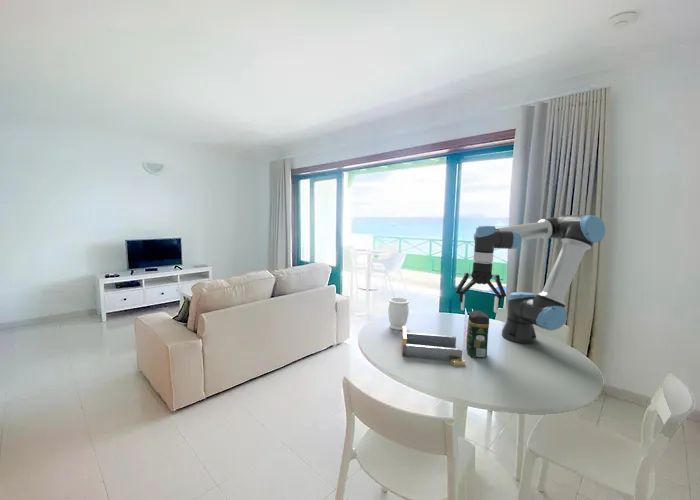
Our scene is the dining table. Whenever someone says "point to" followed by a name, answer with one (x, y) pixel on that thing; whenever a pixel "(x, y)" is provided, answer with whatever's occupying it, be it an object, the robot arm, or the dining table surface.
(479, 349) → the coffee jar
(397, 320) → the jar
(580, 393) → the dining table surface
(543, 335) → the dining table surface
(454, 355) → the channel
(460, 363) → the brass key block
